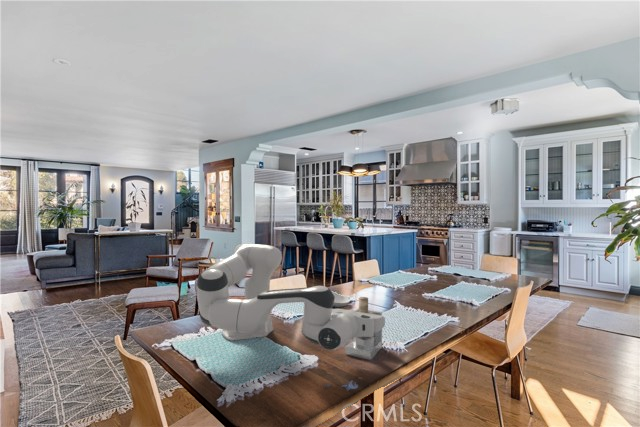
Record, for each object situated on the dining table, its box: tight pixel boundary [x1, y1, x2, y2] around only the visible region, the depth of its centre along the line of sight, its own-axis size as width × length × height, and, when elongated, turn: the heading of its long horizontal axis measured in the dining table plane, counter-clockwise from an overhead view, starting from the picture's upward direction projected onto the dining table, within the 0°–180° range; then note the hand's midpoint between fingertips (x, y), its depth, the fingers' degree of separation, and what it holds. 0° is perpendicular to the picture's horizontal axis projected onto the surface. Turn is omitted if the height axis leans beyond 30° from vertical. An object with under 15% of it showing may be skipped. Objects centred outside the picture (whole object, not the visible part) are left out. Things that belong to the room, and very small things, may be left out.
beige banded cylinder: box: [358, 296, 369, 313], centre depth 131 cm, size 4×4×14 cm
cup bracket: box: [345, 308, 383, 361], centre depth 132 cm, size 12×10×14 cm
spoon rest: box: [331, 290, 351, 308], centre depth 196 cm, size 24×12×7 cm, turn 43°
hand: (364, 312), depth 132 cm, fingers closed on beige banded cylinder, 4 cm apart
